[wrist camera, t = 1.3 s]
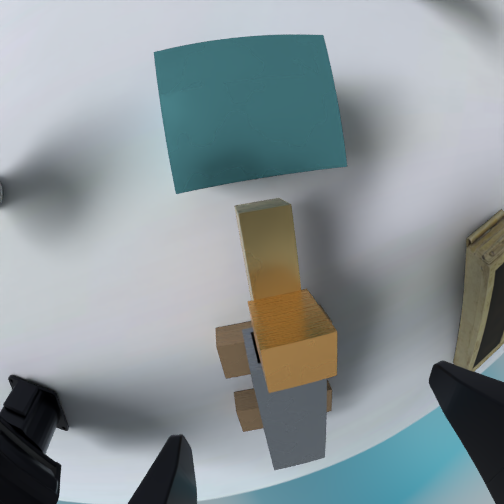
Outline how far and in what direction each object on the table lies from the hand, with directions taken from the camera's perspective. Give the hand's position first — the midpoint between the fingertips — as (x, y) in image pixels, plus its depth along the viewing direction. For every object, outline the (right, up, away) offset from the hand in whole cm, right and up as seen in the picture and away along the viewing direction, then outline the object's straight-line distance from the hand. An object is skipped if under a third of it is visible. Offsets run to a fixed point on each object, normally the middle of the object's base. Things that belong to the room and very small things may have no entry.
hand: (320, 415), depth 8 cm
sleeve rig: (-1, +3, +12) cm, 13 cm away
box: (+23, -1, +17) cm, 28 cm away
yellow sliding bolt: (0, -1, +10) cm, 10 cm away
